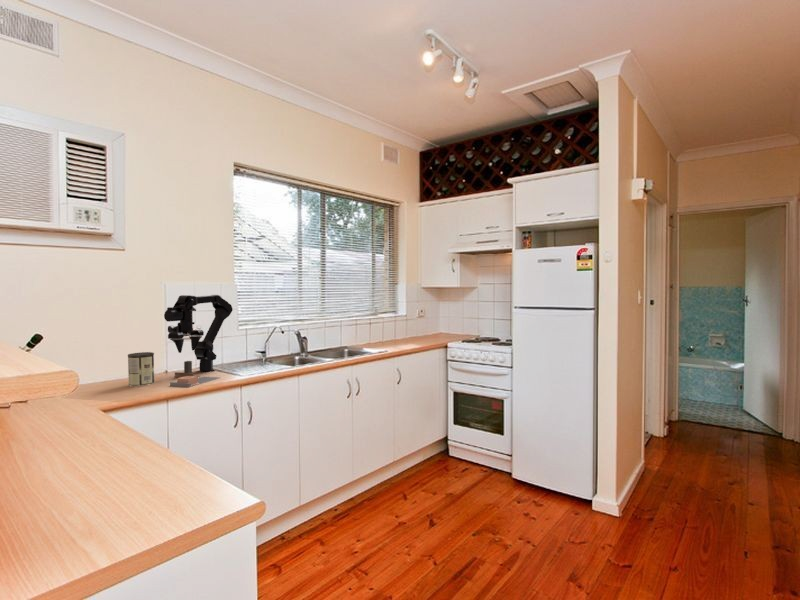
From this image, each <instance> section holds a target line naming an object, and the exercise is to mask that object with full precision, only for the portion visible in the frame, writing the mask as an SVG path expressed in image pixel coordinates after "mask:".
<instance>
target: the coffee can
mask: <svg viewBox="0 0 800 600" xmlns="http://www.w3.org/2000/svg"><path fill="white" fill-rule="evenodd" d="M154 355H155V352H151V351H145V352H144V351H143V352H133V353H128V354H127V362H128V363H127V365H128V366H127V369H128V370H127V372H128V373H127V374H128V376H127V377H128V387H129V386H130V388H134V387H143V386H149V385H153V384H155V358H154V357H155V356H154Z"/></svg>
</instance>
